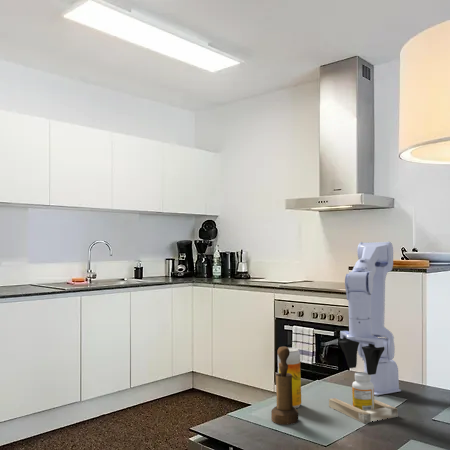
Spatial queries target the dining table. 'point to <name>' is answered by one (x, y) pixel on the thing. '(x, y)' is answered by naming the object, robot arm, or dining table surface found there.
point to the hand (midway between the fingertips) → (361, 370)
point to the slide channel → (364, 416)
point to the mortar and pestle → (284, 393)
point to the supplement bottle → (363, 392)
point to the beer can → (294, 374)
